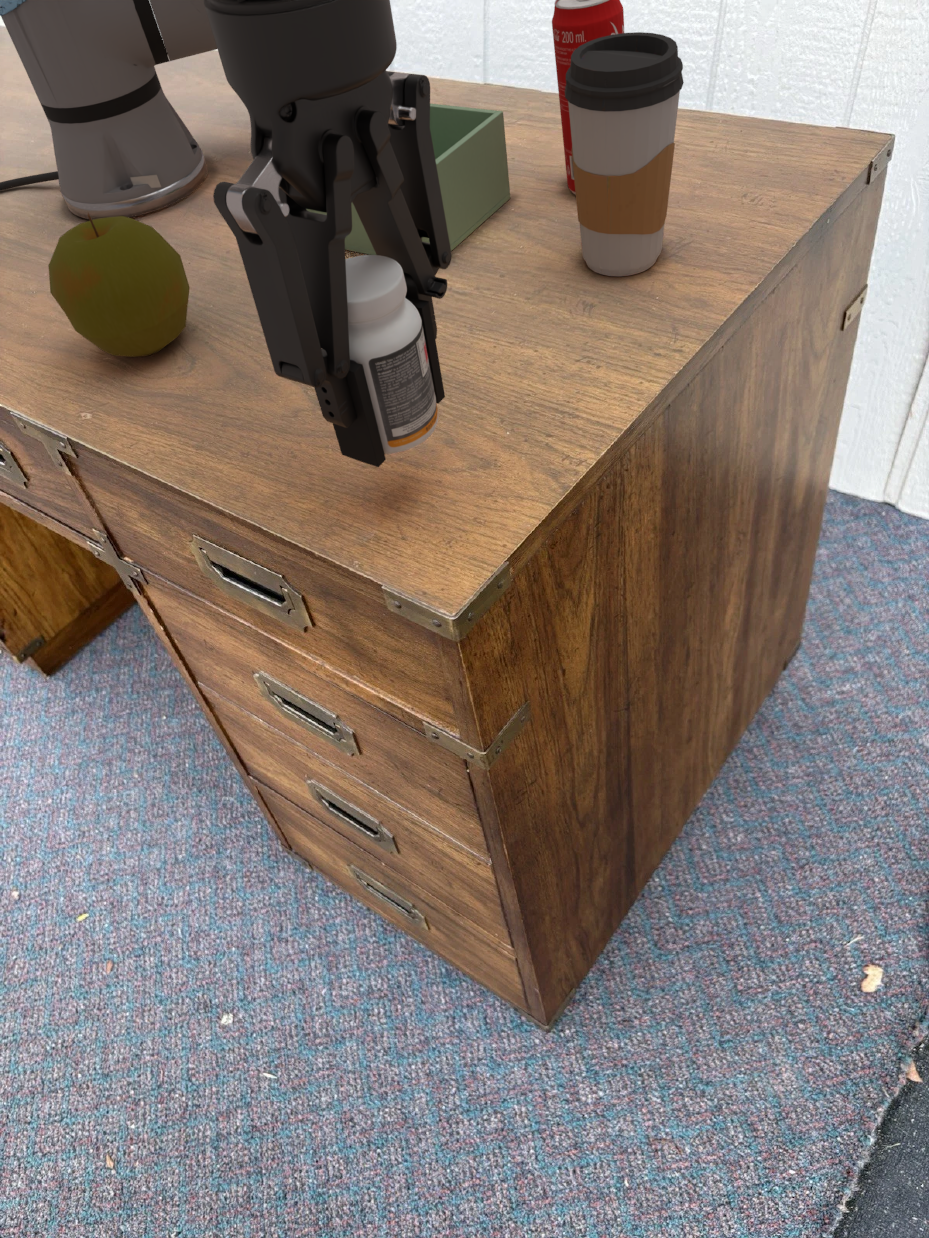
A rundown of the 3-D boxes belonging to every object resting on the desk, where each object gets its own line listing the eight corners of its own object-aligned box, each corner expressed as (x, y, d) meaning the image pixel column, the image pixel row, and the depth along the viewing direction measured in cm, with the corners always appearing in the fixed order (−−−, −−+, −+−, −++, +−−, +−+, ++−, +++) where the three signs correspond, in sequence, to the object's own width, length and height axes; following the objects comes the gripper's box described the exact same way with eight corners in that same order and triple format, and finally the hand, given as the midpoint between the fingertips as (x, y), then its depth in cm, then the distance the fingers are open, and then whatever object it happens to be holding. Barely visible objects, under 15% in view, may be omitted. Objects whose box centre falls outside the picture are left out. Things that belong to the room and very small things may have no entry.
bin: (314, 243, 80) (292, 159, 75) (396, 180, 87) (381, 98, 81) (433, 268, 75) (418, 178, 69) (510, 198, 81) (503, 111, 76)
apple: (224, 312, 74) (176, 180, 66) (174, 380, 69) (114, 245, 60) (123, 309, 77) (64, 182, 69) (66, 375, 71) (-7, 245, 63)
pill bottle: (438, 394, 55) (413, 242, 47) (440, 453, 51) (414, 298, 44) (349, 405, 55) (310, 256, 48) (345, 464, 52) (302, 313, 44)
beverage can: (627, 199, 78) (630, 3, 67) (555, 202, 80) (545, 10, 68) (632, 170, 82) (636, -22, 71) (563, 172, 83) (556, -15, 72)
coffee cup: (606, 224, 76) (606, 25, 64) (693, 245, 72) (708, 36, 60) (550, 270, 72) (539, 66, 61) (638, 294, 68) (643, 81, 57)
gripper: (199, 62, 29) (352, 545, 47) (488, -103, 38) (524, 354, 56) (54, 46, 32) (248, 504, 50) (353, -103, 41) (428, 329, 59)
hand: (394, 424), depth 53 cm, fingers closed on pill bottle, 6 cm apart
